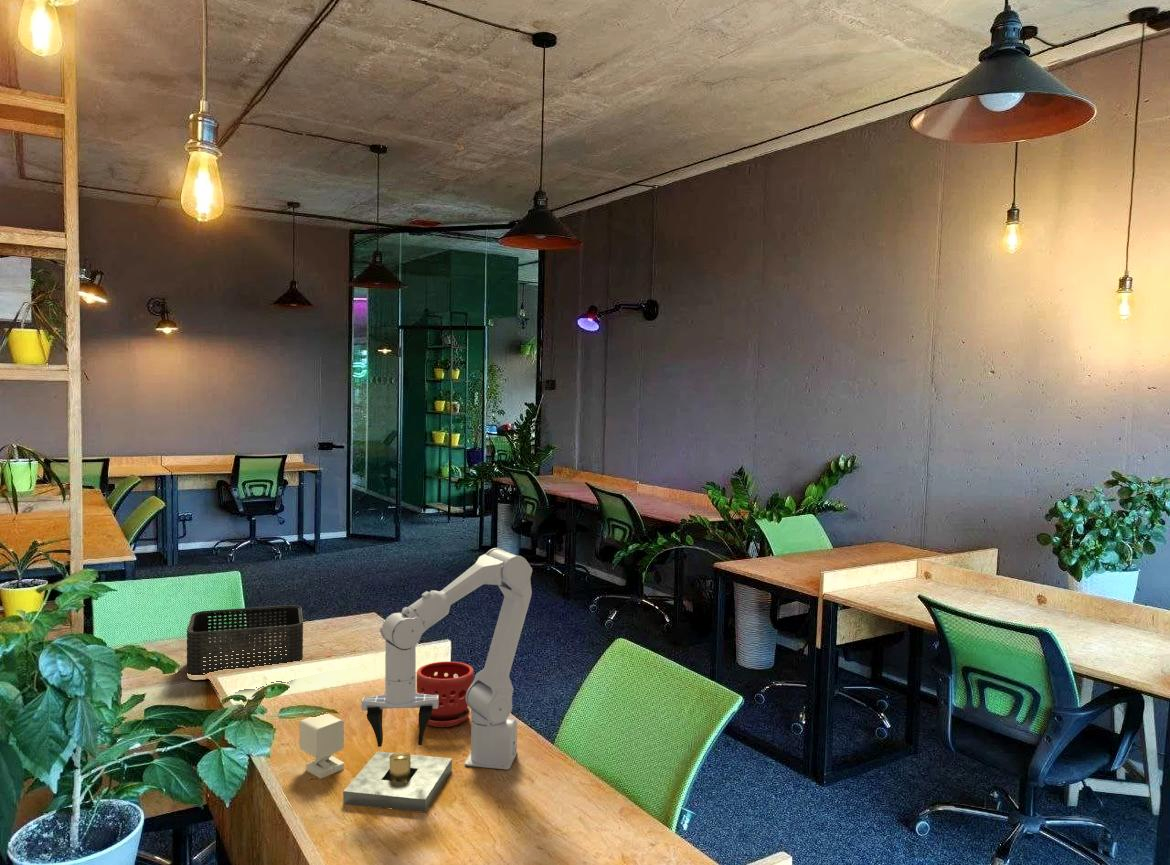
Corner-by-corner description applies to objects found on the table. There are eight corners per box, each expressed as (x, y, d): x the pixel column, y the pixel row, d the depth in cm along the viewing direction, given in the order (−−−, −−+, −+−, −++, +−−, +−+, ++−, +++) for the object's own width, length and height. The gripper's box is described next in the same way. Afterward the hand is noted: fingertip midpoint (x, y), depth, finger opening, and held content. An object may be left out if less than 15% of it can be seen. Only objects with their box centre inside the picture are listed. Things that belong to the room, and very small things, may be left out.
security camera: (326, 756, 169) (326, 710, 168) (346, 768, 164) (346, 720, 163) (299, 768, 164) (299, 720, 163) (318, 779, 159) (318, 730, 158)
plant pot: (481, 724, 185) (482, 674, 185) (425, 735, 179) (426, 683, 178) (462, 703, 197) (462, 655, 196) (409, 713, 191) (409, 664, 190)
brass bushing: (410, 780, 160) (410, 751, 159) (410, 790, 156) (410, 760, 155) (389, 781, 159) (389, 752, 159) (389, 792, 155) (389, 762, 155)
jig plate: (451, 770, 164) (451, 758, 164) (425, 812, 148) (425, 799, 148) (377, 763, 166) (377, 751, 166) (343, 803, 151) (343, 791, 150)
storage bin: (301, 648, 233) (301, 602, 232) (303, 671, 215) (303, 623, 214) (192, 658, 223) (191, 611, 222) (185, 684, 205) (184, 633, 204)
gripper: (439, 667, 160) (439, 733, 162) (365, 669, 159) (365, 735, 160) (437, 681, 153) (437, 749, 155) (359, 683, 152) (359, 752, 153)
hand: (400, 743), depth 157 cm, fingers open, 7 cm apart
